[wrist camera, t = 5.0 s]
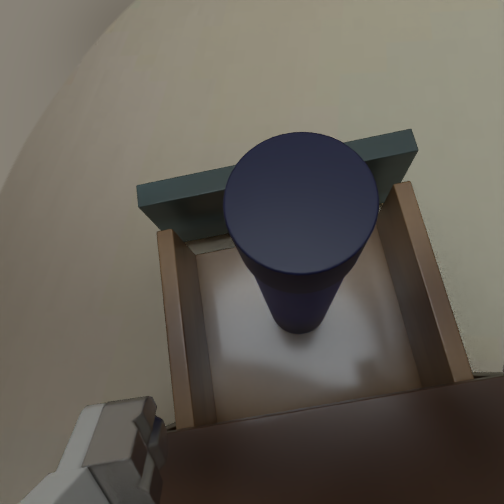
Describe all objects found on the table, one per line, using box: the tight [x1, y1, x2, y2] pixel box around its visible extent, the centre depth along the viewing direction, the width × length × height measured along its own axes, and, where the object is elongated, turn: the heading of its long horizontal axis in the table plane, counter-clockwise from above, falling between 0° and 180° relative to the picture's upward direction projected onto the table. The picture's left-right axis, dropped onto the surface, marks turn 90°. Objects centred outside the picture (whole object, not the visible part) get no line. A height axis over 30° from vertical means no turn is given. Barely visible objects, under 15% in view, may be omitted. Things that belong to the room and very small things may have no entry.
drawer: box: [137, 129, 474, 430], centre depth 20 cm, size 15×13×6 cm
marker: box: [223, 132, 379, 334], centre depth 15 cm, size 3×3×14 cm
